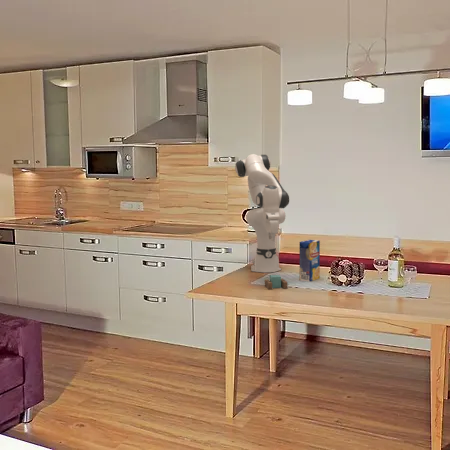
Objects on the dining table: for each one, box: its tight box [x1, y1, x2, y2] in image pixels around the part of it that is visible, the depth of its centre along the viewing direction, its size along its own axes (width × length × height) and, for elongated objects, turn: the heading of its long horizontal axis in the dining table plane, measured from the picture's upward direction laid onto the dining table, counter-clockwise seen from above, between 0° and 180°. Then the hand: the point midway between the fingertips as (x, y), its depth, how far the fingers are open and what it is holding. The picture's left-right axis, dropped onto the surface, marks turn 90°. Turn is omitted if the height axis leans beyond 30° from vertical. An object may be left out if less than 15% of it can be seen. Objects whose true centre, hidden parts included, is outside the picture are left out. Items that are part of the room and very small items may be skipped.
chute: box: [264, 278, 288, 291], centre depth 309 cm, size 9×10×4 cm
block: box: [269, 274, 282, 289], centre depth 310 cm, size 5×5×6 cm
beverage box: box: [299, 239, 321, 282], centre depth 327 cm, size 7×11×22 cm, turn 141°
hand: (271, 240), depth 315 cm, fingers open, 8 cm apart
